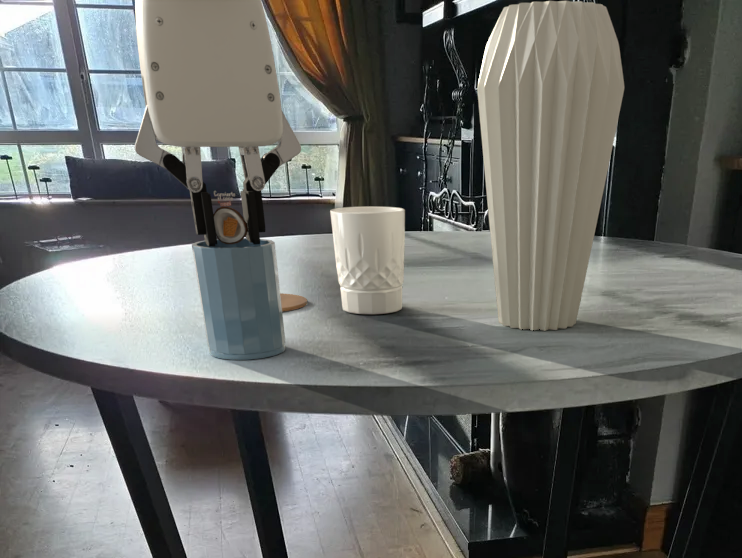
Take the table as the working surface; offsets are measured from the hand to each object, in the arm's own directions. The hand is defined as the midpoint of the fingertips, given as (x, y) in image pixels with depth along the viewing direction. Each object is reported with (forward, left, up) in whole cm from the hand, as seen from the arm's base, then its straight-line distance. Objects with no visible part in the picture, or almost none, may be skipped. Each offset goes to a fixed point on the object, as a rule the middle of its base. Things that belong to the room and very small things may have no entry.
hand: (232, 241), depth 66 cm
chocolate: (0, 0, 0) cm, 0 cm away
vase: (+30, +1, -9) cm, 32 cm away
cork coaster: (+5, +21, -9) cm, 23 cm away
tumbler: (0, 0, -9) cm, 9 cm away
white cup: (+16, +14, -9) cm, 23 cm away
